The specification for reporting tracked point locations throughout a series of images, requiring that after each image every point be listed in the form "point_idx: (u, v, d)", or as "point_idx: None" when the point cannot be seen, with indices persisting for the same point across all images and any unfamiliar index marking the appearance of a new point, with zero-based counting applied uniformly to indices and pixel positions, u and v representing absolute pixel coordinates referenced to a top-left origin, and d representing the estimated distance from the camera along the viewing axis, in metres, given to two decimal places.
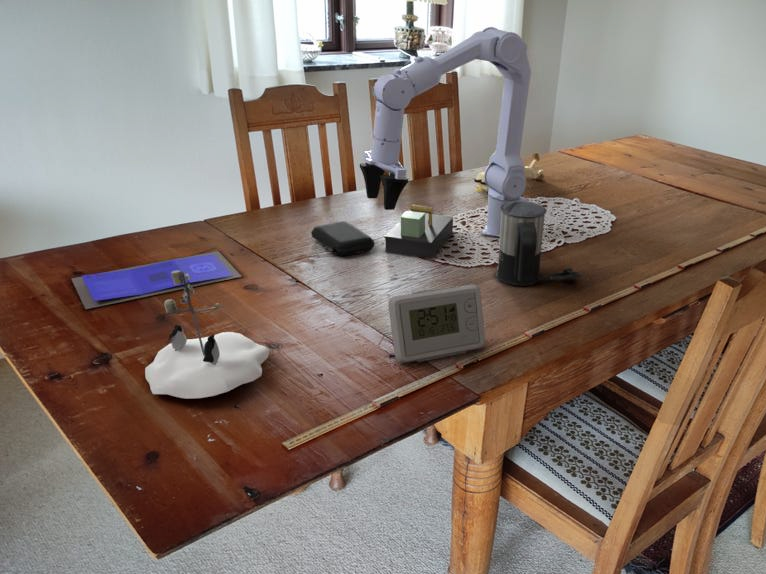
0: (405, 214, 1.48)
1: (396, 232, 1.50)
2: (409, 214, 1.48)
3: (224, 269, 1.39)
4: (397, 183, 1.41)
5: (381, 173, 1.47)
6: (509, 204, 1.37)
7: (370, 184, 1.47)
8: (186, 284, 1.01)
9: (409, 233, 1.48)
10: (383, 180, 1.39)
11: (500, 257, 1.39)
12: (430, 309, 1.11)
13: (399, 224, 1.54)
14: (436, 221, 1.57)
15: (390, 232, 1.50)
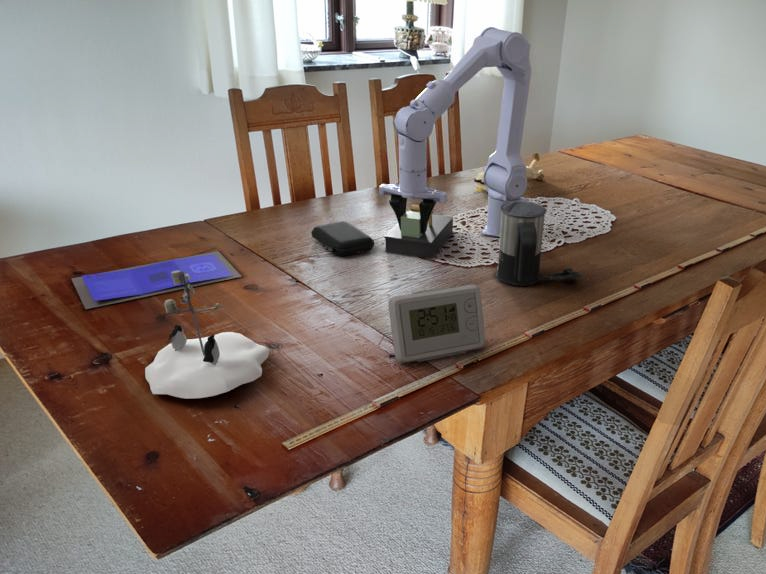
0: (405, 214, 1.48)
1: (396, 232, 1.50)
2: (410, 214, 1.48)
3: (224, 269, 1.39)
4: None
5: (405, 203, 1.49)
6: (509, 204, 1.37)
7: None
8: (186, 284, 1.01)
9: (409, 233, 1.48)
10: (423, 208, 1.44)
11: (500, 257, 1.39)
12: (430, 309, 1.11)
13: None
14: (436, 221, 1.57)
15: (390, 232, 1.50)
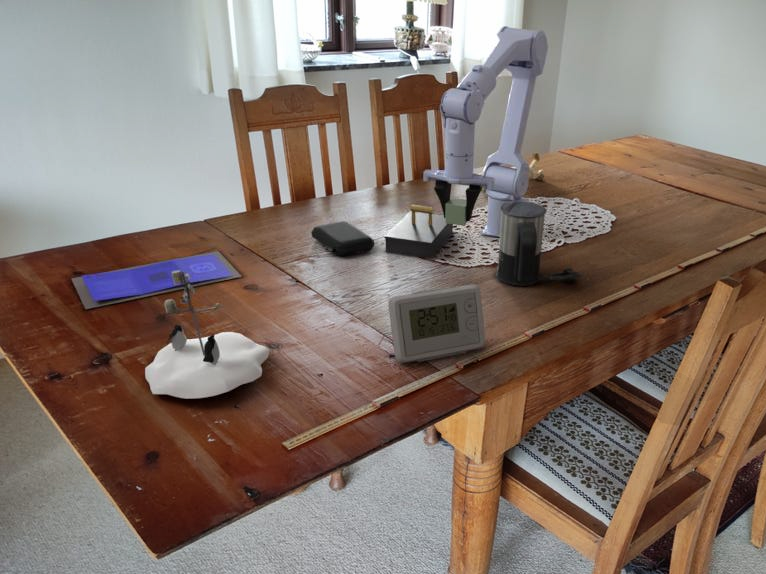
0: (449, 201, 1.42)
1: (396, 232, 1.50)
2: (454, 201, 1.43)
3: (224, 269, 1.39)
4: None
5: (450, 189, 1.43)
6: (509, 204, 1.37)
7: None
8: (186, 284, 1.01)
9: (454, 221, 1.43)
10: (470, 194, 1.38)
11: (500, 257, 1.39)
12: (430, 309, 1.11)
13: (399, 224, 1.54)
14: (436, 221, 1.57)
15: (390, 232, 1.50)
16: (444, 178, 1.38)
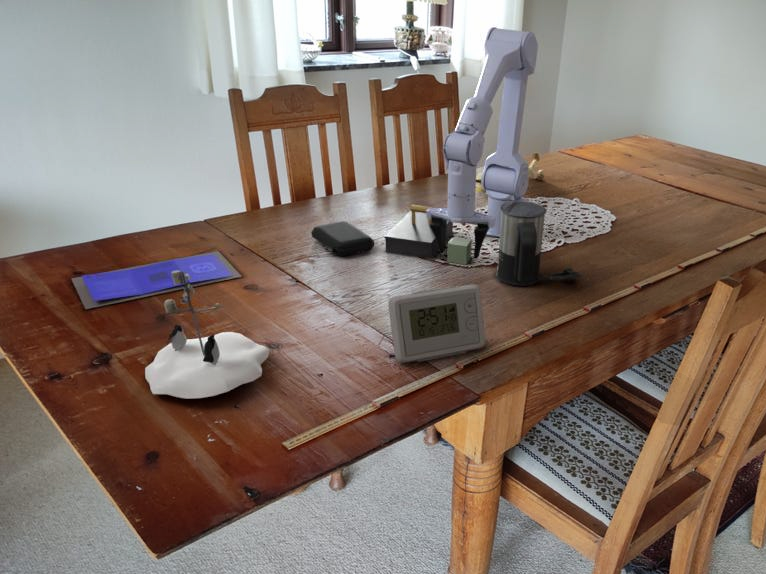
0: (451, 241, 1.47)
1: (396, 232, 1.50)
2: (456, 240, 1.47)
3: (224, 269, 1.39)
4: None
5: (445, 225, 1.48)
6: (509, 204, 1.37)
7: (442, 240, 1.47)
8: (186, 284, 1.01)
9: (456, 260, 1.47)
10: (479, 233, 1.42)
11: (500, 257, 1.39)
12: (430, 309, 1.11)
13: (399, 224, 1.54)
14: None
15: (390, 232, 1.50)
16: (447, 217, 1.42)
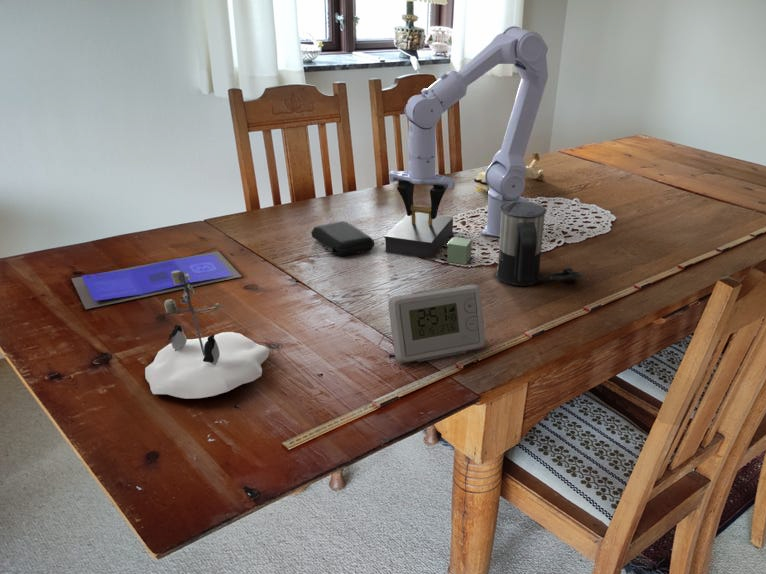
0: (451, 241, 1.47)
1: (396, 232, 1.50)
2: (456, 240, 1.47)
3: (224, 269, 1.39)
4: None
5: (413, 189, 1.53)
6: (509, 204, 1.37)
7: (409, 202, 1.52)
8: (186, 284, 1.01)
9: (456, 260, 1.47)
10: (434, 194, 1.48)
11: (500, 257, 1.39)
12: (430, 309, 1.11)
13: (399, 224, 1.54)
14: (436, 221, 1.57)
15: (390, 232, 1.50)
16: (408, 179, 1.48)
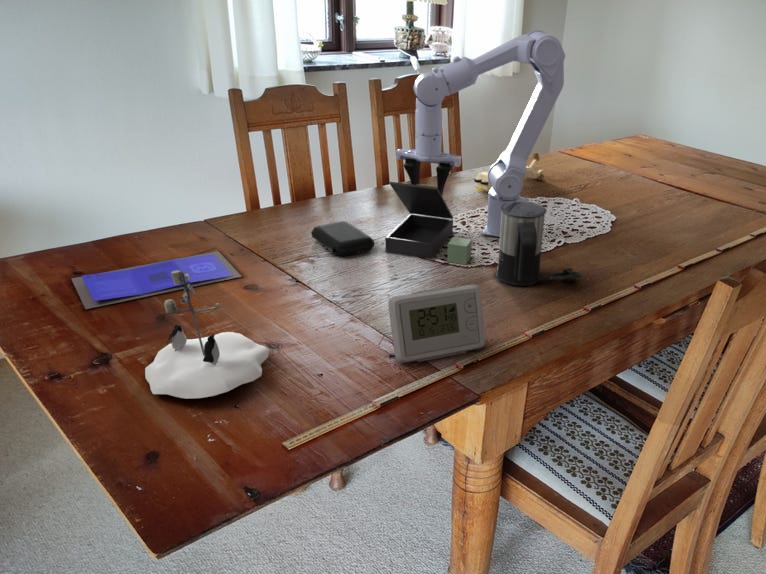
0: (451, 241, 1.47)
1: None
2: (456, 240, 1.47)
3: (224, 269, 1.39)
4: None
5: (419, 167, 1.55)
6: (509, 204, 1.37)
7: (416, 180, 1.54)
8: (186, 284, 1.01)
9: (456, 260, 1.47)
10: (440, 171, 1.50)
11: (500, 257, 1.39)
12: (430, 309, 1.11)
13: None
14: None
15: None
16: (414, 156, 1.50)
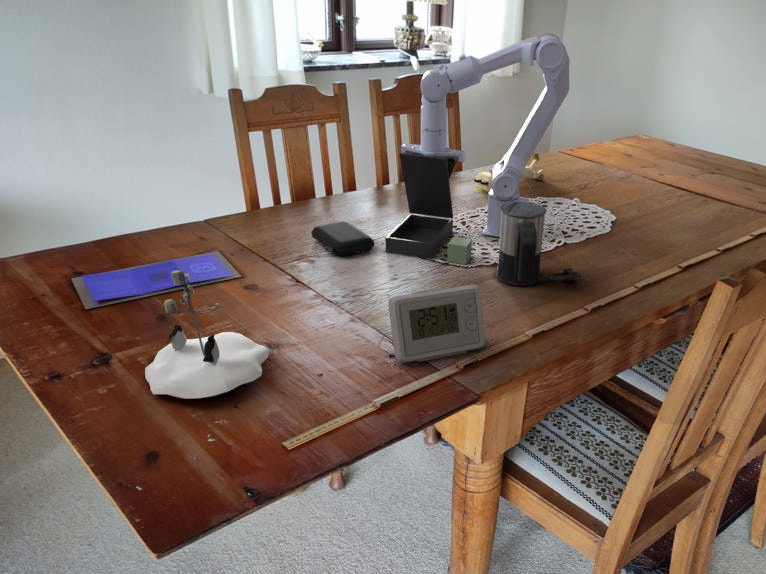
0: (451, 241, 1.47)
1: None
2: (456, 240, 1.47)
3: (224, 269, 1.39)
4: None
5: None
6: (509, 204, 1.37)
7: None
8: (186, 284, 1.01)
9: (456, 260, 1.47)
10: None
11: (500, 257, 1.39)
12: (430, 309, 1.11)
13: None
14: None
15: None
16: (420, 151, 1.53)
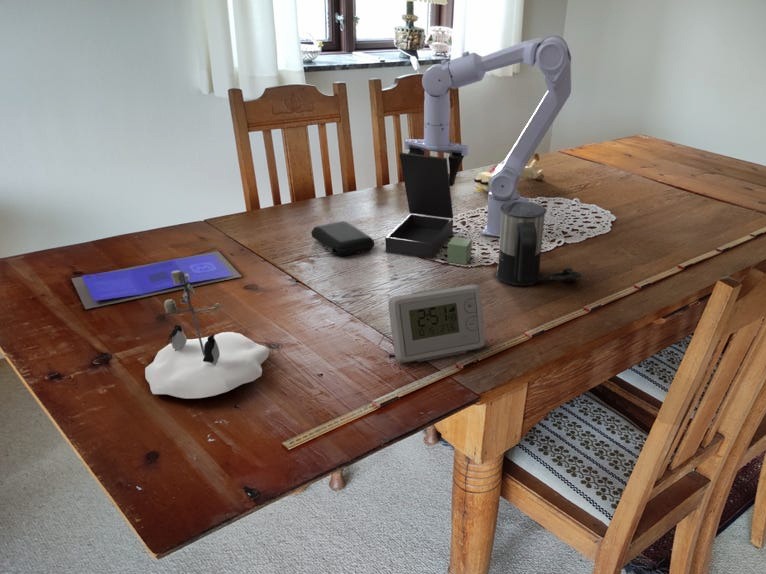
0: (451, 241, 1.47)
1: None
2: (456, 240, 1.47)
3: (224, 269, 1.39)
4: None
5: None
6: (509, 204, 1.37)
7: None
8: (186, 284, 1.01)
9: (456, 260, 1.47)
10: (453, 160, 1.54)
11: (500, 257, 1.39)
12: (430, 309, 1.11)
13: None
14: None
15: None
16: (423, 145, 1.54)
